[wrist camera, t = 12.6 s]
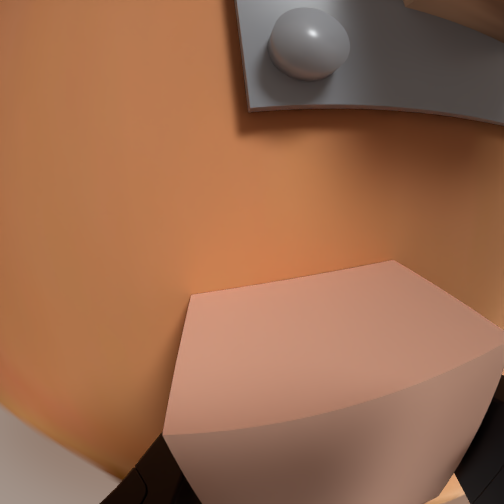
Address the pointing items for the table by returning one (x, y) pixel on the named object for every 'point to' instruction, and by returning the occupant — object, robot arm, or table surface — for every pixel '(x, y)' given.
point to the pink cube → (330, 389)
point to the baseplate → (367, 59)
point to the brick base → (467, 13)
